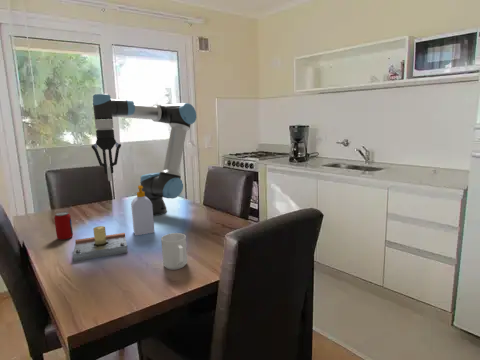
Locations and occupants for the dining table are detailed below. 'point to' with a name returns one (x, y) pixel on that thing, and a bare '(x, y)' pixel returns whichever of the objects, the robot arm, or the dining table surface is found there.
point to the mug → (174, 251)
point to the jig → (89, 250)
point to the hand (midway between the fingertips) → (109, 180)
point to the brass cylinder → (100, 236)
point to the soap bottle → (142, 214)
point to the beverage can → (63, 225)
